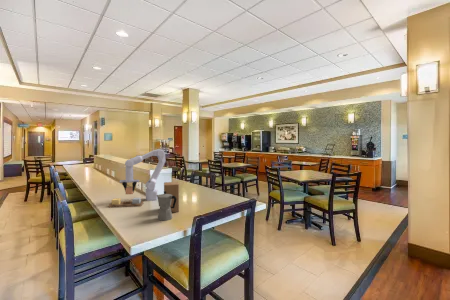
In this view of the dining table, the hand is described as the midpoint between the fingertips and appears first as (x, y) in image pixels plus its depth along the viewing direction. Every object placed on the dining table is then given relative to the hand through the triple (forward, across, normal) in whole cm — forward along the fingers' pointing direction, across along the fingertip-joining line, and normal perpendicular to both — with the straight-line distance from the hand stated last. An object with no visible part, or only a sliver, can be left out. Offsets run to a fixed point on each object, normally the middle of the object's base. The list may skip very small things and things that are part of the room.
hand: (129, 191), depth 180 cm
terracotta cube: (+2, 0, 0) cm, 2 cm away
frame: (+9, 0, +9) cm, 13 cm away
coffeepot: (+10, -33, +41) cm, 53 cm away
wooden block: (+10, -35, +25) cm, 44 cm away
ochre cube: (+9, +8, +9) cm, 15 cm away
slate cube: (+9, -7, +10) cm, 15 cm away
